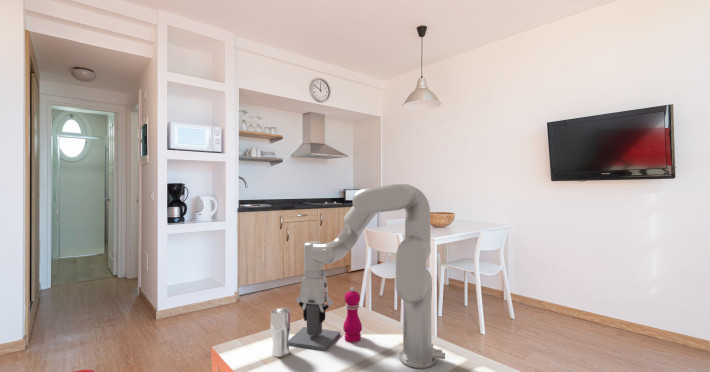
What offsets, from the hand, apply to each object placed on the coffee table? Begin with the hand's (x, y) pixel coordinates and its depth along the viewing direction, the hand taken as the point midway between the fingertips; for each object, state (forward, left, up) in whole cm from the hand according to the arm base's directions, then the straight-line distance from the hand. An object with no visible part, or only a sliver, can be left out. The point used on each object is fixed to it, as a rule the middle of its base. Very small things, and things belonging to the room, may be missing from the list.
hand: (314, 320), depth 131 cm
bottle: (0, 0, -5) cm, 5 cm away
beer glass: (+7, +13, -8) cm, 17 cm away
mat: (0, 0, -8) cm, 8 cm away
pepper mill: (-14, -5, -8) cm, 17 cm away
